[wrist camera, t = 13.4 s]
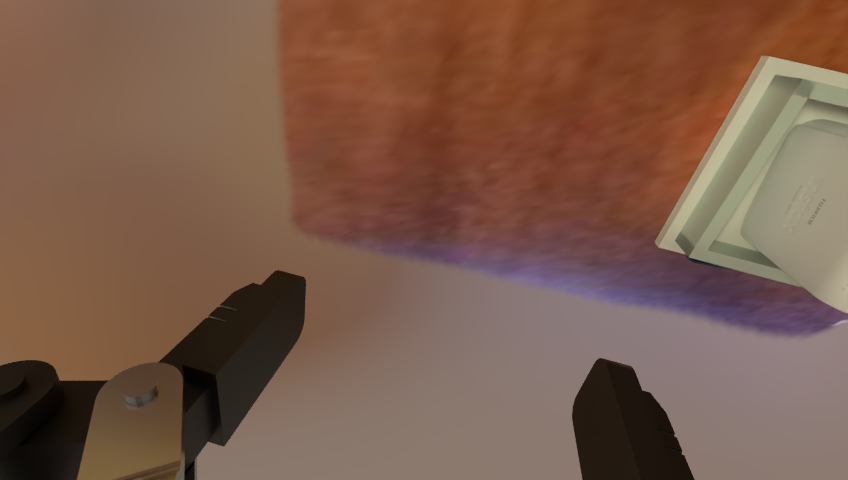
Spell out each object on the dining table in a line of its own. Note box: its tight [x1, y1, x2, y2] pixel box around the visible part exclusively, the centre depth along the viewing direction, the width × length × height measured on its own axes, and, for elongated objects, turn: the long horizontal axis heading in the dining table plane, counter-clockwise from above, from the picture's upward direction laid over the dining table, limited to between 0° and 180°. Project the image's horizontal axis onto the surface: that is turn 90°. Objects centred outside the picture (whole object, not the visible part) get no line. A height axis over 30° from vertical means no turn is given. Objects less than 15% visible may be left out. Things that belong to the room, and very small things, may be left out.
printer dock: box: [655, 56, 848, 288], centre depth 30 cm, size 16×12×4 cm
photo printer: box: [740, 119, 848, 313], centre depth 26 cm, size 10×4×12 cm, turn 175°
